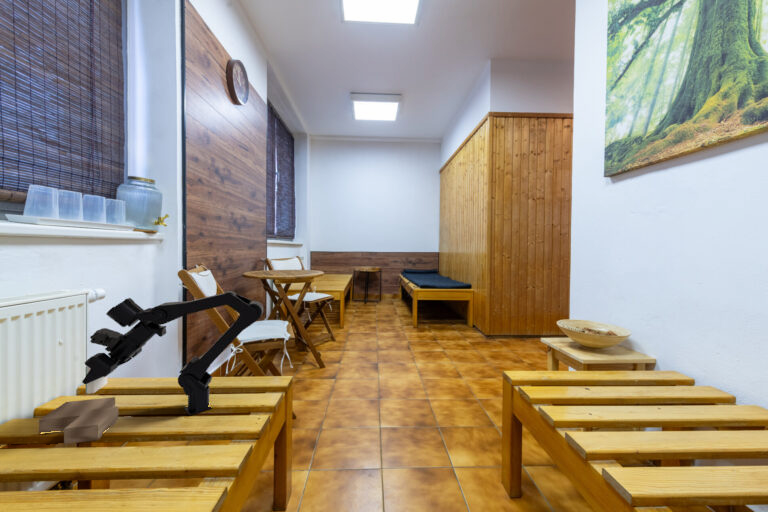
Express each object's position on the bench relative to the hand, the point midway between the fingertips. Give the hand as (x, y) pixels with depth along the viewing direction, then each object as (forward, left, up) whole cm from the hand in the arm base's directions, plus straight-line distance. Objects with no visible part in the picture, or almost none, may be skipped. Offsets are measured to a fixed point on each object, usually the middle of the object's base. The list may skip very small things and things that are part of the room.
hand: (91, 378), depth 87 cm
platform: (-2, +2, -12) cm, 13 cm away
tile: (-1, -1, -3) cm, 3 cm away
